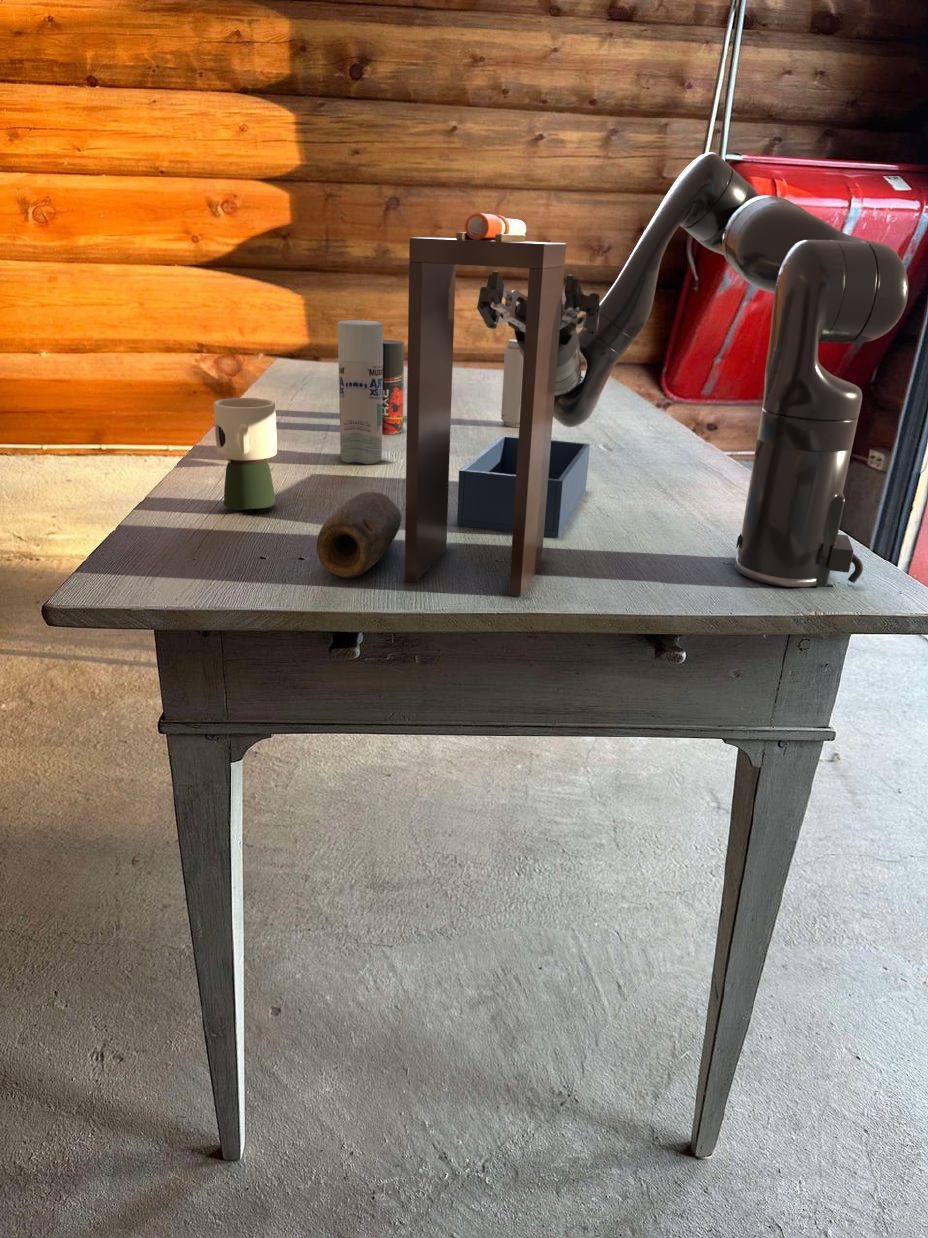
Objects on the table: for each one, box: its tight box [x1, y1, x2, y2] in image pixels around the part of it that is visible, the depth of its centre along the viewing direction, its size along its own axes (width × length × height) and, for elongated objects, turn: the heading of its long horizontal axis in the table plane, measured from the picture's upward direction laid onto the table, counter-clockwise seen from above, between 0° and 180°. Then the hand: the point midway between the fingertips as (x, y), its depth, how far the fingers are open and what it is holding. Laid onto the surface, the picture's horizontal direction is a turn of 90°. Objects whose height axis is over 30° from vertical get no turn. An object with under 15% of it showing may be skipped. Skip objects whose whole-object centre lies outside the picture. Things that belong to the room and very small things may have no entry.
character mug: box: [213, 397, 278, 513], centre depth 110 cm, size 11×7×13 cm, turn 9°
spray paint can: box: [337, 319, 384, 465], centre depth 135 cm, size 6×6×20 cm
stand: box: [403, 231, 567, 598], centre depth 89 cm, size 12×11×33 cm
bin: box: [456, 435, 591, 539], centre depth 117 cm, size 12×22×7 cm, turn 164°
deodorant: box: [382, 339, 405, 435], centre depth 157 cm, size 6×6×15 cm
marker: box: [464, 212, 527, 241], centre depth 87 cm, size 17×2×2 cm, turn 164°
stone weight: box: [316, 491, 402, 579], centre depth 96 cm, size 15×7×7 cm, turn 176°
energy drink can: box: [500, 338, 524, 428], centre depth 166 cm, size 6×6×15 cm
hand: (531, 280), depth 102 cm, fingers open, 8 cm apart
